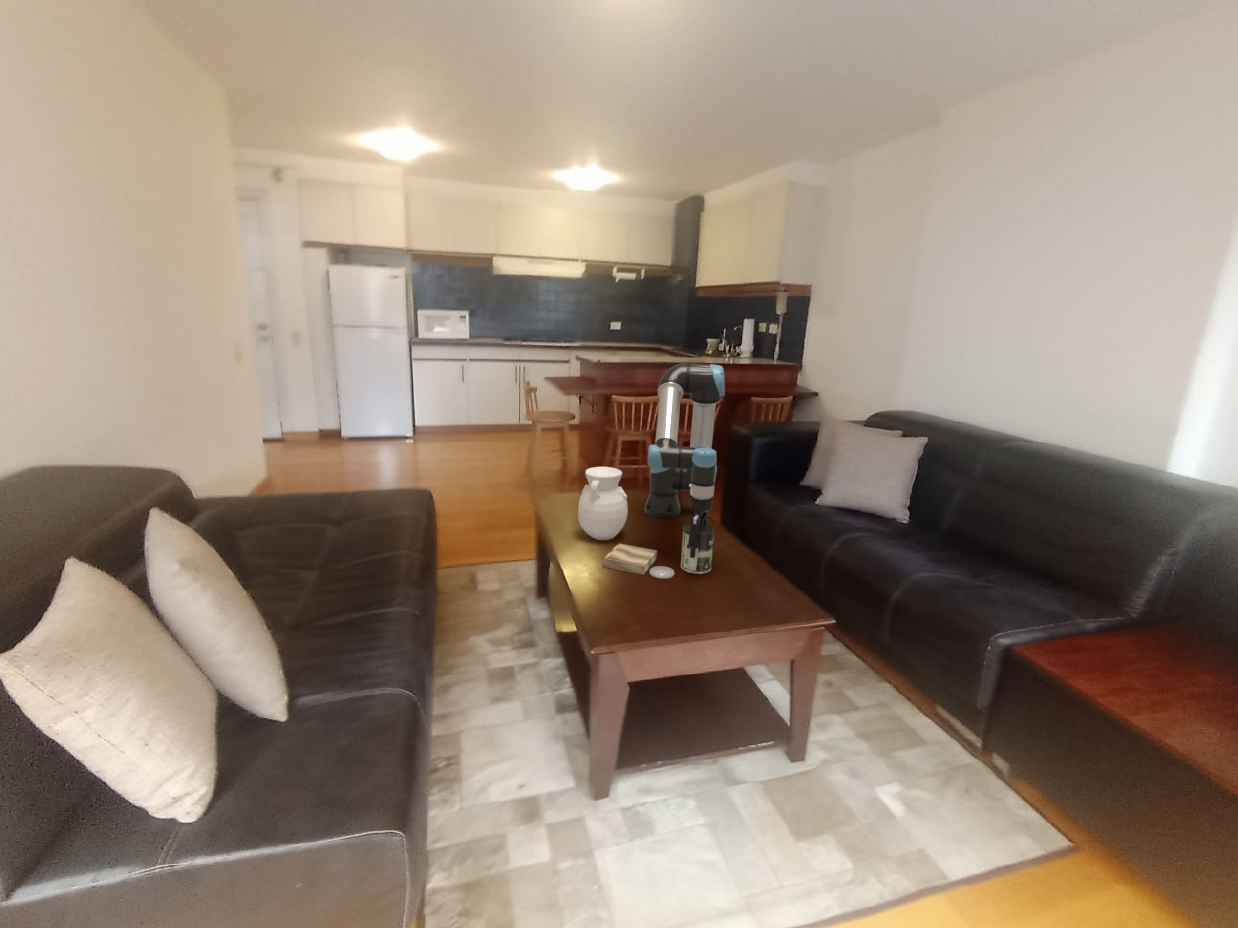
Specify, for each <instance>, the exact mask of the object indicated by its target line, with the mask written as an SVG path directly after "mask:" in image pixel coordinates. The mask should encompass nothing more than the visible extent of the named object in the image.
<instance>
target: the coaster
mask: <svg viewBox="0 0 1238 928" xmlns="http://www.w3.org/2000/svg"><path fill="white" fill-rule="evenodd" d="M649 575H650V576H651V577H654V578H656V579H671V578H673V577H674V576H675V570H674V569H672V568H671V567H669V566H664V565H663V566H662V565H658V566H653V567H650V568H649Z"/></svg>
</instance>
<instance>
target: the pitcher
mask: <svg viewBox="0 0 1238 928" xmlns="http://www.w3.org/2000/svg"><path fill="white" fill-rule="evenodd" d="M584 474H585V478H586V479H587V482H588V484H585V485H584V487H583V489H582V490H581V493H582V494H581V495H580V497H579V500H578V509H577V518H578V522H579V525H580V527H581V529H582V530H583V531H584V533H586V534H587V535H589V536H590V537H591V538H593V539H594V540H598V541H608V540H609V541H611V540H612V539H614V538H615V537H617V535H618V534H619V533H620V532H621V531H622V530H623V528H624V526H625V524H626V521H627V519H628V513H629V511H628V510H629V509H628V508H629V507H628V500H627V498H628V495H627V494H626V493H625V490H624V489H623V488H622V487H623V486H620V485H619V482H620V481H621V479H622V476H623V472H622V470H620V469H618V468H615V467H610V466H595V467H589V468H587V469H585V473H584Z"/></svg>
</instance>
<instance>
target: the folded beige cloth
mask: <svg viewBox="0 0 1238 928" xmlns="http://www.w3.org/2000/svg"><path fill="white" fill-rule="evenodd" d="M657 555H658V550H656V549H651V548H646V547H640V546H636V545H629V544H624V543H618V544H616V545H615V547H613V548H612V550H611V551H609V553H608V554H607V555H605V557H603V561H602V562H603V563H602V564H603V565H602V567H603V568H606V569H613V570H617V571H621V572H626V573H632V574H635V575H640V576H644V575H646V572H647V571H648V570H650V569H651V566H652V565H653V564H654V563H655V562H656V560H657V558H658V556H657Z"/></svg>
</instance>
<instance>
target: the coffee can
mask: <svg viewBox="0 0 1238 928" xmlns="http://www.w3.org/2000/svg"><path fill="white" fill-rule="evenodd" d="M690 528H691V522H688V523H685V524H684V525H683V526H682V543H681V544H682V545H681V556H680V557H681V560H680V568H681V569H682V570H683V571H685V572H686V573H690V574H695V575H696V574H698V575H703V574H706V573H710V571H711V570H712V563H713V562H712V561H713V549H714V537H715V531H716V530H715V527H714V526H712V525H711V524H705V526H704V525H703V527H702V528H701V530H700V533H698V535H699V539H698V556H697V567H693V566H688V559H689V548H688V547H687V545H688V542H689V535H690Z"/></svg>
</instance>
